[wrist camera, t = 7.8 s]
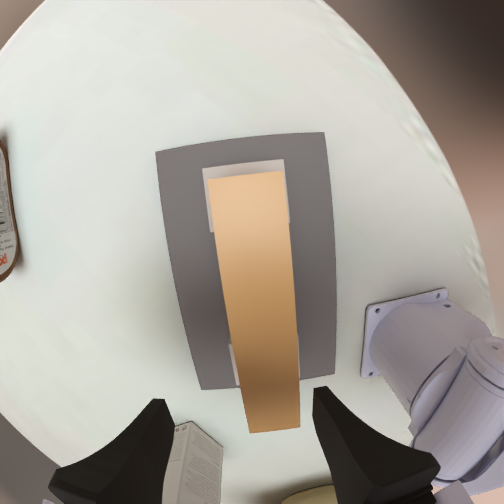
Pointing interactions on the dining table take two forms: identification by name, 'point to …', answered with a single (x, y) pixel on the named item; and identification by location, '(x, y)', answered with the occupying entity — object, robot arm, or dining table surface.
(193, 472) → the skincare box
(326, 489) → the beige sack vase
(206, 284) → the stand
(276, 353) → the frame
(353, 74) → the dining table surface
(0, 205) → the tin
